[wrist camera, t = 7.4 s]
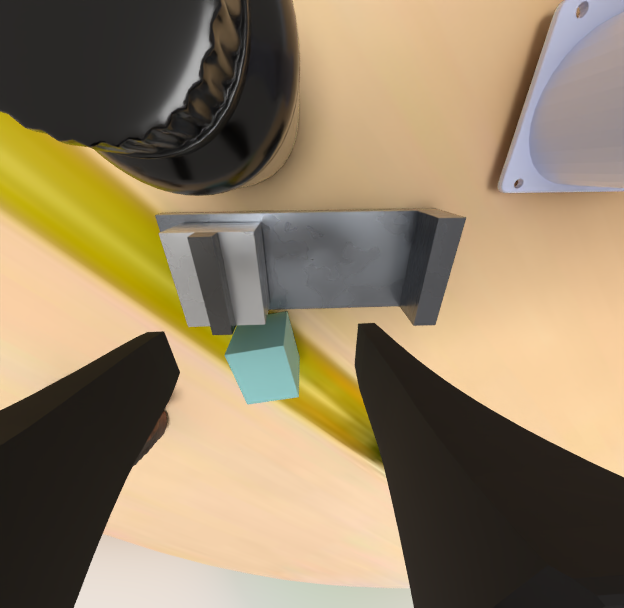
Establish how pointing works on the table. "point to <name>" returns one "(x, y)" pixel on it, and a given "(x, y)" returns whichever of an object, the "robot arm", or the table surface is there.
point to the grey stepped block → (219, 273)
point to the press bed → (351, 256)
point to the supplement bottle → (158, 84)
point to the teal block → (265, 360)
